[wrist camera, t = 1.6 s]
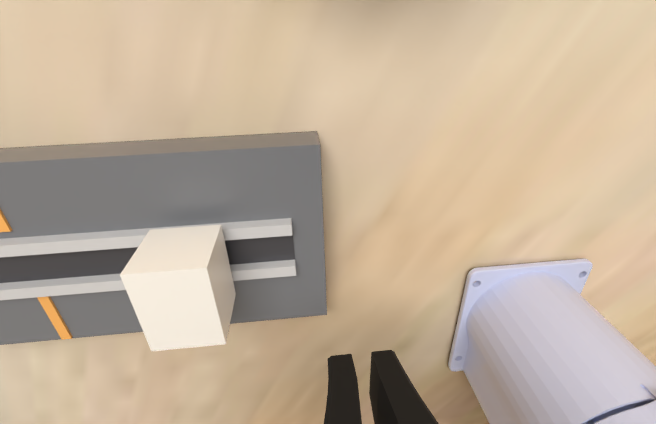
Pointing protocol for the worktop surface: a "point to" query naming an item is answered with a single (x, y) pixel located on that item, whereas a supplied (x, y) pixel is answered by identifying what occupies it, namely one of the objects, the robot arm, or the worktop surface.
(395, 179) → the worktop surface
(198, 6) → the worktop surface
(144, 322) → the fader tab
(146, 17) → the worktop surface
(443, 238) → the worktop surface
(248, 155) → the fader console
